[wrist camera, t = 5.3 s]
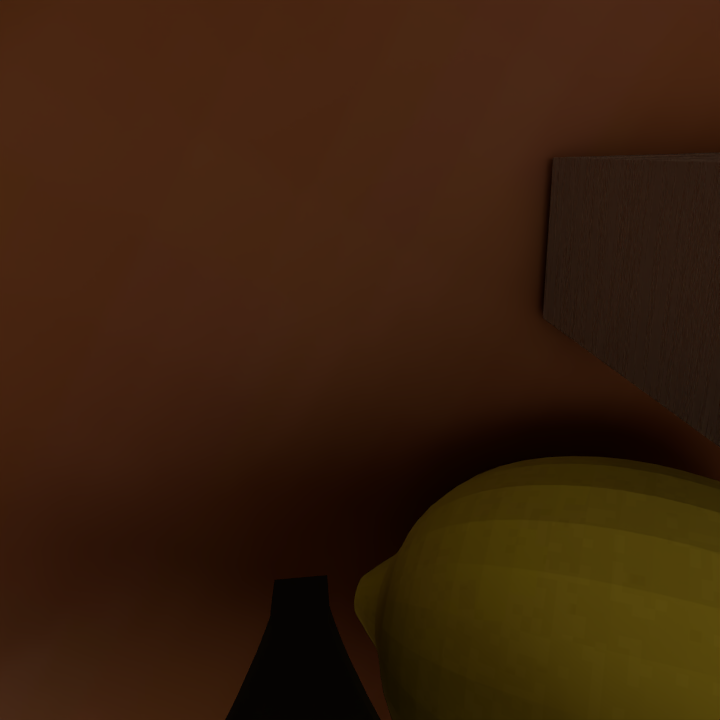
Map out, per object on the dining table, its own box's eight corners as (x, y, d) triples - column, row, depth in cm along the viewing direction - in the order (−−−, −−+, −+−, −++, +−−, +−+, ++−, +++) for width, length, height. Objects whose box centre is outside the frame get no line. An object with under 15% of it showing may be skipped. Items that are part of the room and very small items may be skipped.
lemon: (339, 374, 10) (1068, 436, 6) (430, 485, 14) (881, 555, 11) (214, 802, 7) (1240, 1245, 4) (370, 770, 12) (913, 967, 9)
